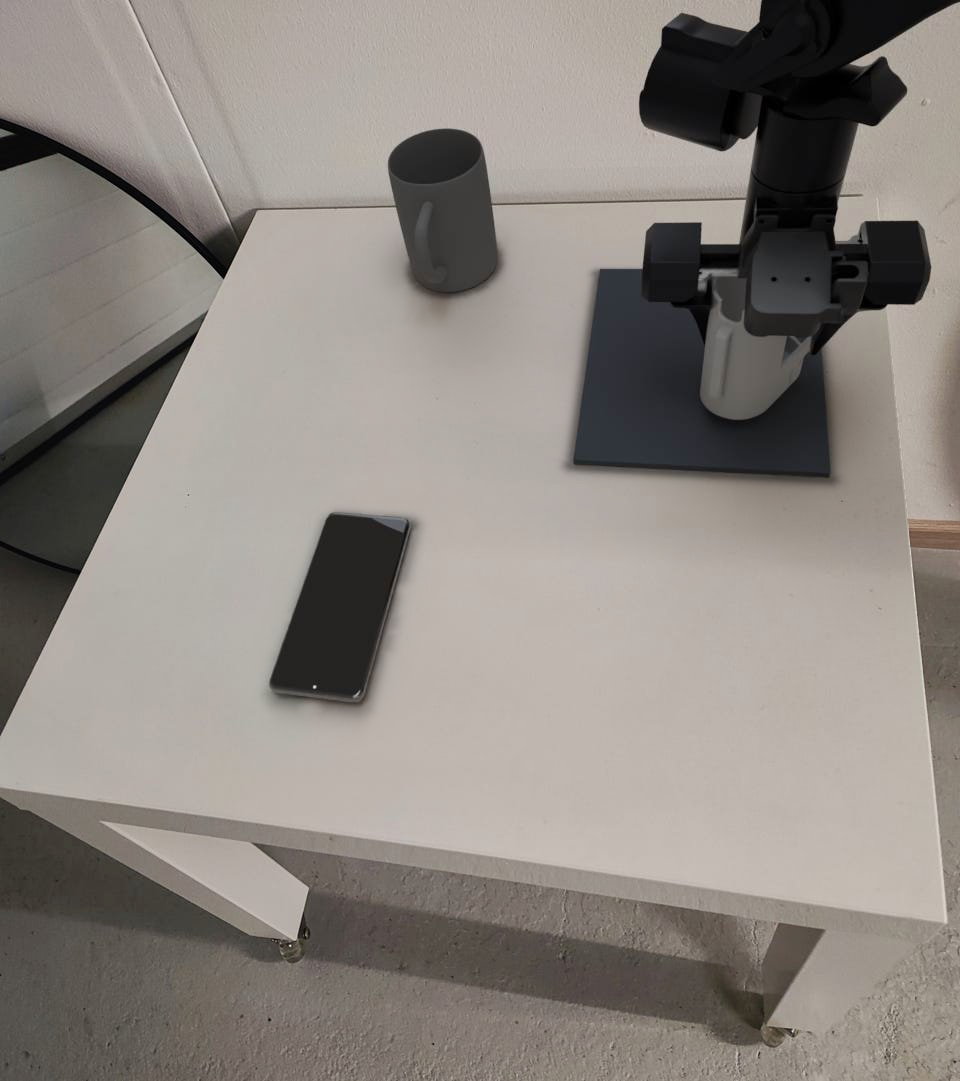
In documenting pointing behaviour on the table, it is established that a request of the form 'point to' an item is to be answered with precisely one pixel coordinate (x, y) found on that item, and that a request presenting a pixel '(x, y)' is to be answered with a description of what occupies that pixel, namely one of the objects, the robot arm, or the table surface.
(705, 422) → the mat
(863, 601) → the table surface
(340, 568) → the smartphone
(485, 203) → the mug
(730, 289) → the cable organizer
